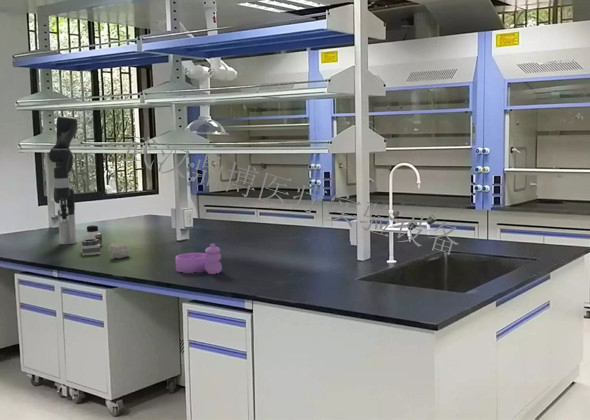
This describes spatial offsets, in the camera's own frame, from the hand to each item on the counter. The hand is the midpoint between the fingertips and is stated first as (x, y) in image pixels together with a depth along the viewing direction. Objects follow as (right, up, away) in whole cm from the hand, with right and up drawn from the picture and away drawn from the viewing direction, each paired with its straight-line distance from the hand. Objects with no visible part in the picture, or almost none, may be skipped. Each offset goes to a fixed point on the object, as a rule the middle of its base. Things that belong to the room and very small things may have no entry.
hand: (64, 218), depth 344 cm
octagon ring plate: (+13, -19, +3) cm, 23 cm away
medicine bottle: (+8, -16, +25) cm, 31 cm away
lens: (0, -2, 0) cm, 2 cm away
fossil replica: (+33, -20, -12) cm, 41 cm away
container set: (+80, -23, -49) cm, 97 cm away
